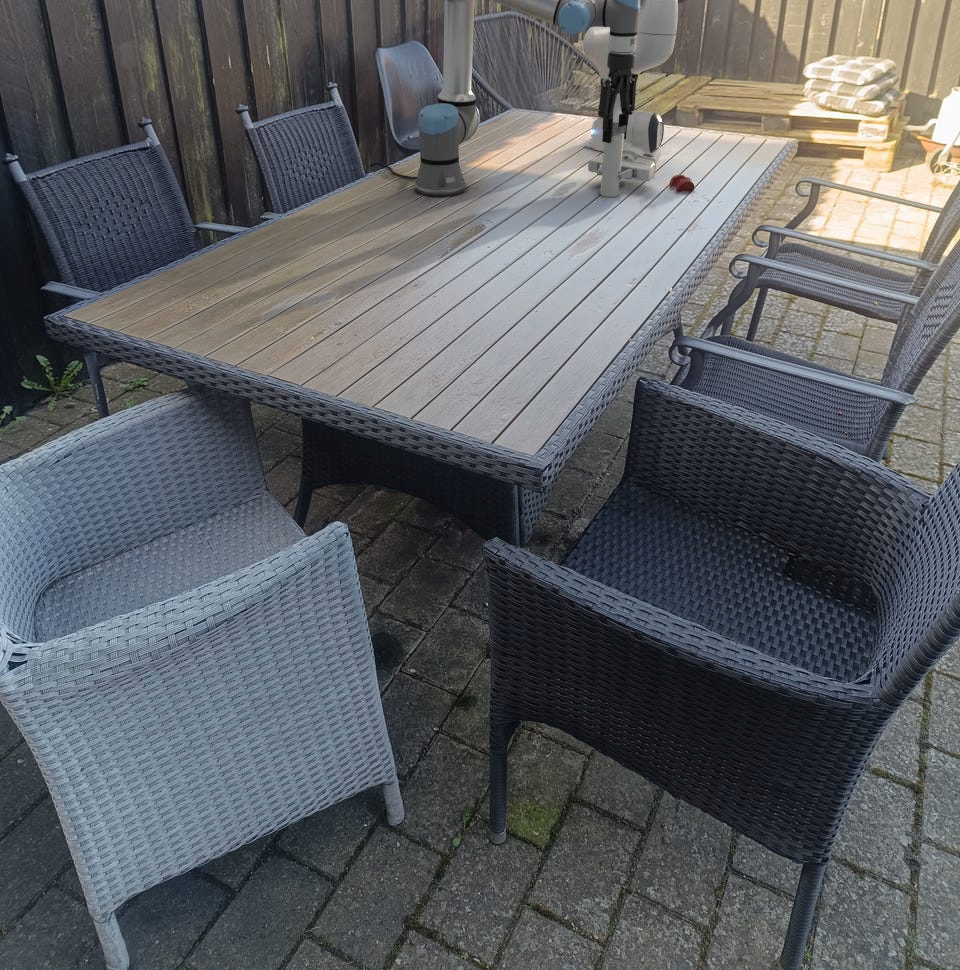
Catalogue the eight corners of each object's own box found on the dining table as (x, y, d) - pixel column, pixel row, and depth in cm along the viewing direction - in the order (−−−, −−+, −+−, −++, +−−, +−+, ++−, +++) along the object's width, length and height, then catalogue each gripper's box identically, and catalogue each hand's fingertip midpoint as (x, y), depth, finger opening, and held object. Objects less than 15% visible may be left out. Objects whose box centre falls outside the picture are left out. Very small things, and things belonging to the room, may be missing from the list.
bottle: (621, 193, 256) (627, 127, 244) (613, 198, 252) (619, 131, 241) (605, 190, 258) (610, 124, 247) (597, 195, 254) (602, 128, 243)
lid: (629, 130, 245) (629, 124, 244) (619, 134, 241) (619, 128, 240) (610, 127, 248) (611, 121, 247) (600, 131, 244) (600, 125, 243)
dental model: (685, 170, 259) (697, 178, 253) (684, 184, 262) (695, 192, 256) (668, 172, 258) (679, 180, 252) (667, 186, 261) (678, 194, 255)
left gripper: (609, 57, 225) (602, 148, 238) (654, 50, 235) (644, 137, 249) (588, 54, 229) (582, 143, 243) (633, 46, 240) (625, 132, 253)
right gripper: (600, 148, 263) (579, 158, 253) (661, 157, 254) (642, 168, 244) (598, 169, 267) (578, 179, 257) (658, 179, 257) (639, 190, 248)
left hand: (614, 140), depth 246 cm, fingers closed on lid, 6 cm apart
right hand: (609, 174), depth 251 cm, fingers closed on bottle, 5 cm apart
